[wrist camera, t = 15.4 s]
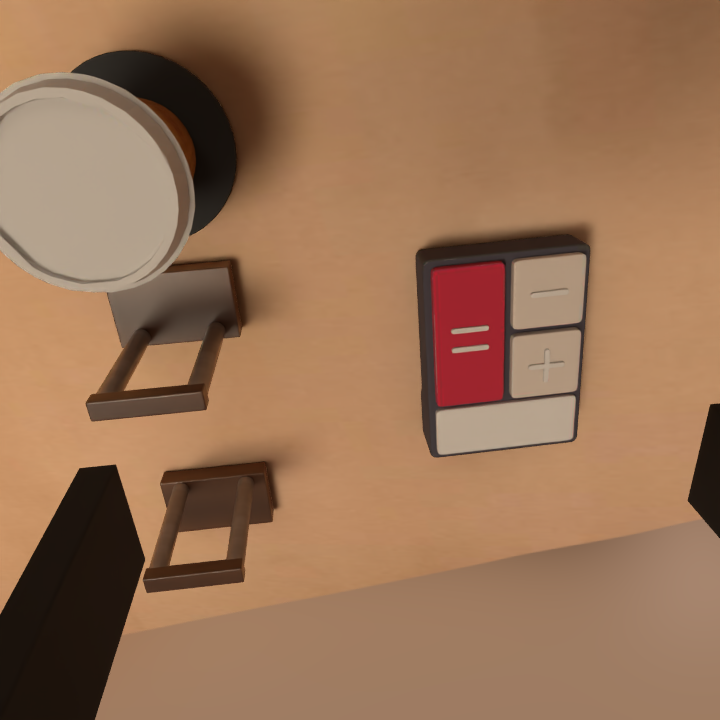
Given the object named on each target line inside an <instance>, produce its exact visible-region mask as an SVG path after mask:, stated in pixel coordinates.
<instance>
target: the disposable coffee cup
mask: <svg viewBox="0 0 720 720" xmlns="http://www.w3.org/2000/svg"><path fill="white" fill-rule="evenodd" d="M195 166H196V156H195V148H194V145H193V141H192V139H191V137H190V135H189V133H188V131H187V129H186V127H185V126H184V125H183V123H182V122H181V121H180V119H179V118H178V117H177V116H176V115H175V114H174V113H173V112H171V111H170V110H168V109H167V108H165V107H164V106H162V105H160V104H158V103H156V102H154V101H151V100H147V99H142V98H138V97H135V96H134V95H132V94H131V93H130V92H128V91H127V90H125V89H123V88H121V87H118V86H116V85H114V84H112V83H109V82H107V81H105V80H102V79H99V78H96V77H93V76H89V75H84V74H76V73H66V72H59V73H46V74H38V75H36V76H33V77H30V78H27V79H24V80H21V81H18V82H16V83H13V84H12V85H11V86H9V87H8V88H6V89H5V90H4V91H2V92H1V93H0V250H1V252H2V253H3V254H4V255H5V256H7V257H8V258H9V259H10V260H11V261H12V262H14V263H15V264H16V265H17V266H18V267H20V268H21V269H23V270H24V271H26V272H28V273H29V274H31V275H32V276H34V277H36V278H38V279H40V280H42V281H45V282H47V283H49V284H52V285H55V286H58V287H62V288H65V289H68V290H73V291H86V292H117V291H121V290H126V289H131V288H135V287H137V286H140V285H142V284H144V283H146V282H149V281H151V280H152V279H154V278H155V277H157V276H158V275H159V274H161V273H162V272H164V271H165V270H166V269H167V268H168V267H169V266H170V265H171V264H172V263H173V262H174V261H175V260H176V258H177V257H178V256H179V254H180V252H181V251H182V249H183V247H184V245H185V244H186V242H187V240H188V237H189V234H190V231H191V228H192V223H193V217H194V212H195V194H194V183H193V177H194V173H195Z"/></svg>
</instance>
